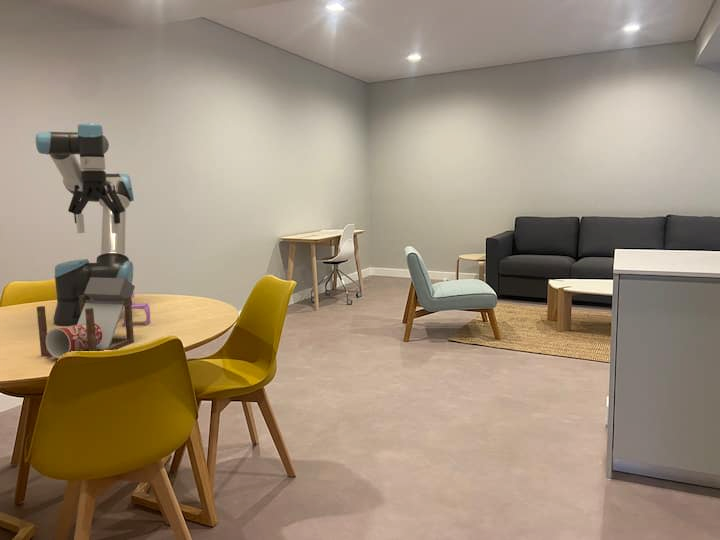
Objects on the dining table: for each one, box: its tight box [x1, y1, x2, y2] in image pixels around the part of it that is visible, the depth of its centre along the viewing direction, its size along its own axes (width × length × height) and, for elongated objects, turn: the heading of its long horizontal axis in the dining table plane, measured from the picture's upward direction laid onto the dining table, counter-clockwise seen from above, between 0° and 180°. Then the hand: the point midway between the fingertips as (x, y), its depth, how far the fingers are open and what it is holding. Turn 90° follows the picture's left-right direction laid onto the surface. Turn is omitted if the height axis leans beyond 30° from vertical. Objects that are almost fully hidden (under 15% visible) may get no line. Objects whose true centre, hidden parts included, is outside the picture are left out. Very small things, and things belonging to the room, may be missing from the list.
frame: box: [36, 295, 135, 358], centre depth 169 cm, size 18×19×15 cm
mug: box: [46, 323, 102, 359], centre depth 163 cm, size 13×9×14 cm
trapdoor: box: [77, 277, 136, 351], centre depth 175 cm, size 14×24×6 cm
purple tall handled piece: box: [121, 291, 151, 328], centre depth 201 cm, size 8×9×15 cm
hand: (98, 233), depth 186 cm, fingers open, 13 cm apart
